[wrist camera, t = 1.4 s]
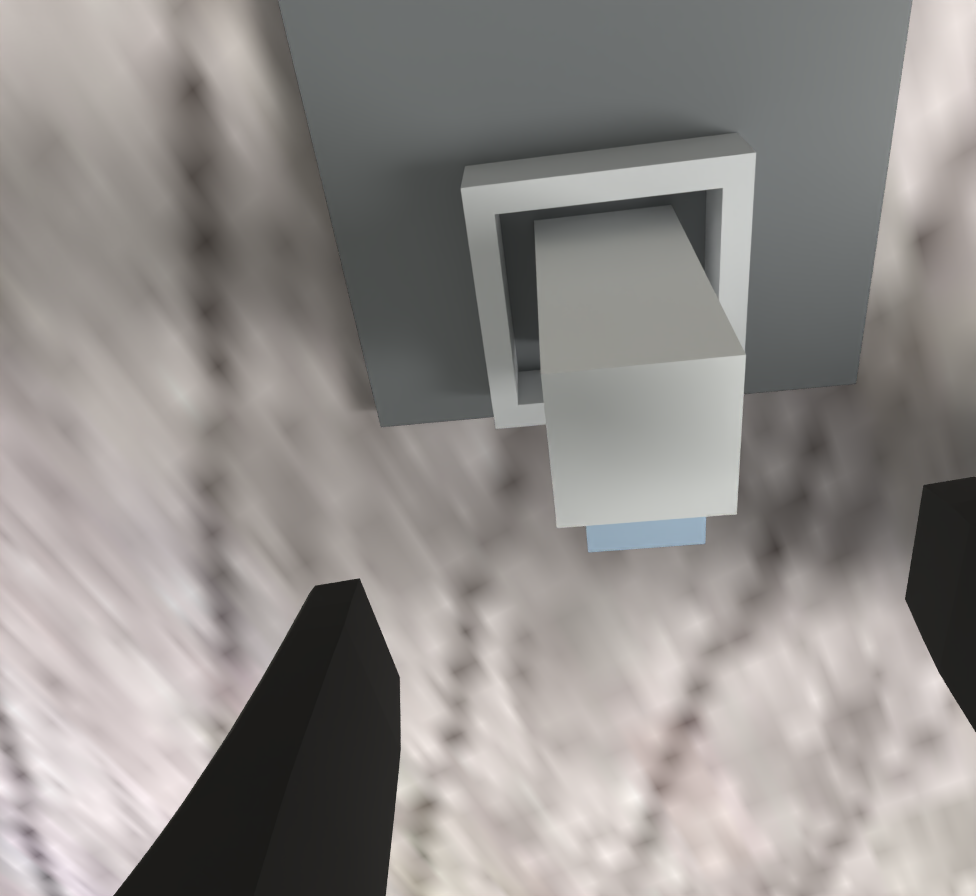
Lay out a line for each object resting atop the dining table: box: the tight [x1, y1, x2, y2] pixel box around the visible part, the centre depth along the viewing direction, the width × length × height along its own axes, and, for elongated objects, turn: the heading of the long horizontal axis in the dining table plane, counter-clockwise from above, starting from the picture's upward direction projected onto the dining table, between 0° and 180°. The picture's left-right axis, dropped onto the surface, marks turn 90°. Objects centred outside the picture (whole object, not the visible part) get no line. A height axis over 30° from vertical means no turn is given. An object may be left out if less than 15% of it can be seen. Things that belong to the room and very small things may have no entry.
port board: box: [278, 0, 912, 429], centre depth 15 cm, size 12×18×2 cm, turn 7°
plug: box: [534, 205, 746, 552], centre depth 16 cm, size 3×4×7 cm
